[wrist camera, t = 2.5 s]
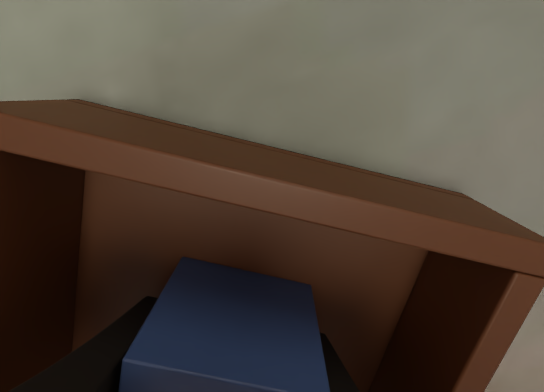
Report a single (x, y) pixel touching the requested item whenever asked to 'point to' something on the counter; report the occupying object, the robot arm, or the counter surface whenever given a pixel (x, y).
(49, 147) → the bin
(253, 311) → the block
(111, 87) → the counter surface
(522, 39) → the counter surface
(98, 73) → the counter surface
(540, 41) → the counter surface
